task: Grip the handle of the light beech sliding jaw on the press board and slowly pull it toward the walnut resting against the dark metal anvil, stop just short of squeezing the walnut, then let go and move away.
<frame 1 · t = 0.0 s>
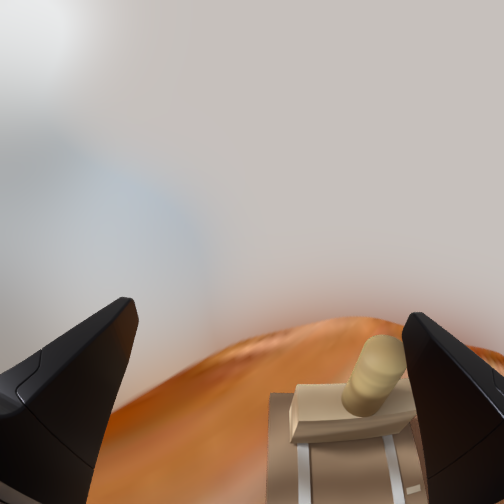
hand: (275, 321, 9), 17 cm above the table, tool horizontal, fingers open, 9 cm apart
jaw: (364, 395, 17), point 6 cm above the table, slide at 0.0 cm
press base: (346, 495, 14), on the table
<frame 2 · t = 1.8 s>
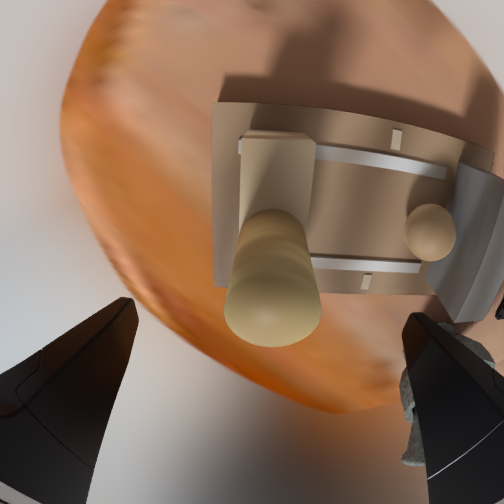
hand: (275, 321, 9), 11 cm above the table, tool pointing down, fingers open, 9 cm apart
jaw: (272, 245, 13), point 6 cm above the table, slide at 0.0 cm
mortar and pestle: (423, 346, 25), on the table
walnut: (418, 220, 17), point 1 cm above the table, touching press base
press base: (361, 206, 18), on the table
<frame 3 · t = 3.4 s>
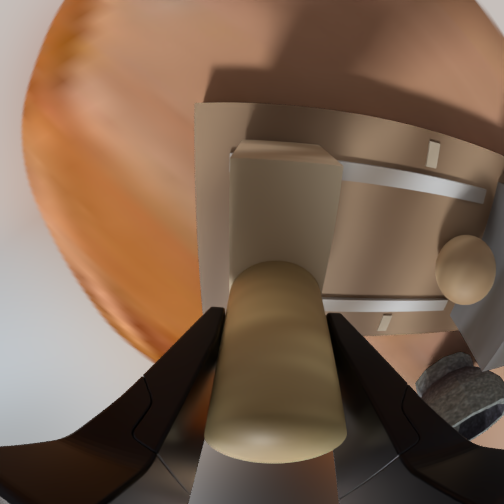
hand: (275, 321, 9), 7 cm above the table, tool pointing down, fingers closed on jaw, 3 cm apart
jaw: (275, 309, 9), point 6 cm above the table, slide at 0.0 cm, touching gripper
mortar and pestle: (436, 376, 21), on the table
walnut: (450, 252, 13), point 1 cm above the table, touching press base
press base: (383, 234, 14), on the table
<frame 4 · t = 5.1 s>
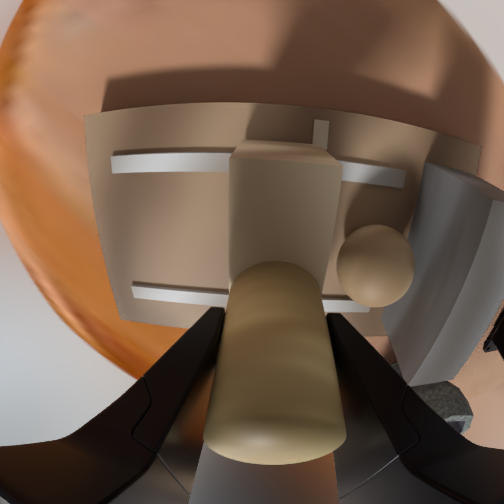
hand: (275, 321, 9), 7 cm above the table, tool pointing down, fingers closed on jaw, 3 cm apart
jaw: (274, 310, 9), point 6 cm above the table, slide at 5.4 cm, touching gripper
mortar and pestle: (390, 383, 21), on the table
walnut: (365, 246, 13), point 1 cm above the table, touching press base
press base: (284, 227, 14), on the table
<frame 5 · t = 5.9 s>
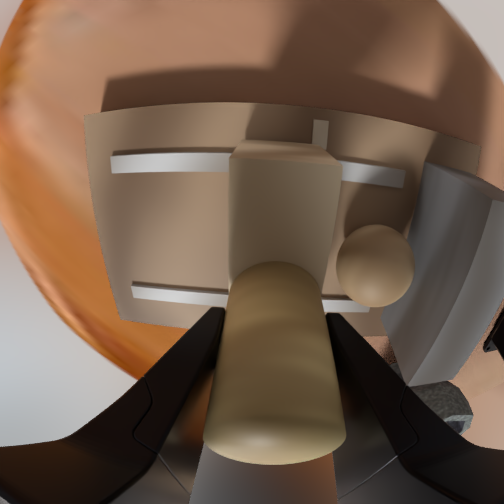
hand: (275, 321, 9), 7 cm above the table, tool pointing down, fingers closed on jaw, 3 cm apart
jaw: (274, 310, 9), point 6 cm above the table, slide at 5.4 cm, touching gripper
mortar and pestle: (390, 383, 21), on the table
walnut: (364, 246, 13), point 1 cm above the table, touching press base
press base: (284, 227, 14), on the table
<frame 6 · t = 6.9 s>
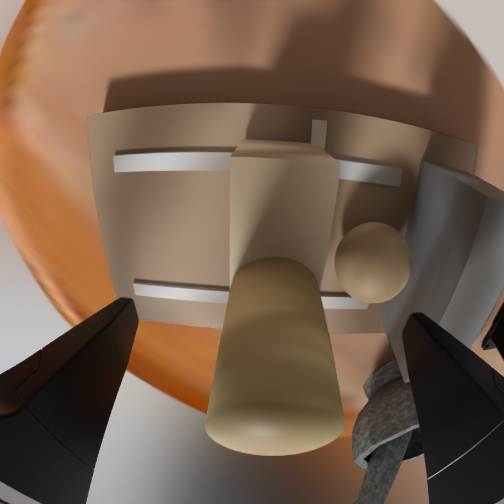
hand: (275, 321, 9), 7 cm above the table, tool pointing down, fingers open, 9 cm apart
jaw: (274, 305, 9), point 6 cm above the table, slide at 5.4 cm
mortar and pestle: (389, 381, 21), on the table
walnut: (362, 243, 13), point 1 cm above the table, touching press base
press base: (283, 225, 15), on the table
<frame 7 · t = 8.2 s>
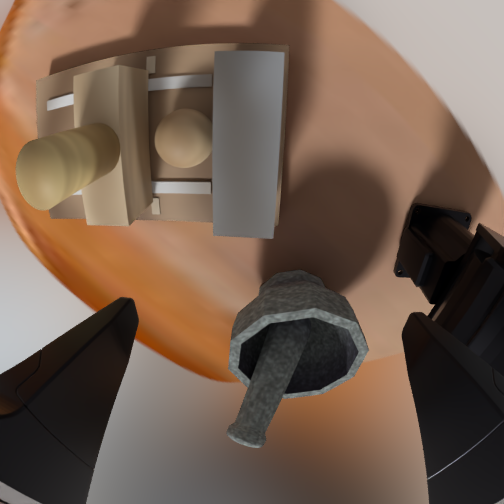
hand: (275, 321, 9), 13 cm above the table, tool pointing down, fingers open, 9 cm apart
jaw: (92, 151, 13), point 6 cm above the table, slide at 5.4 cm
mortar and pestle: (287, 303, 25), on the table
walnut: (192, 134, 17), point 1 cm above the table, touching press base
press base: (146, 134, 18), on the table
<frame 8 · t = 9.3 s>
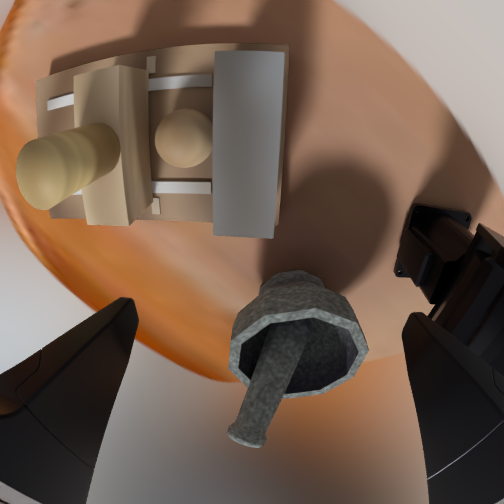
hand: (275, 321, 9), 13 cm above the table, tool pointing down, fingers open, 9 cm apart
jaw: (92, 151, 13), point 6 cm above the table, slide at 5.4 cm
mortar and pestle: (287, 303, 25), on the table
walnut: (192, 134, 17), point 1 cm above the table, touching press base
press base: (146, 134, 18), on the table
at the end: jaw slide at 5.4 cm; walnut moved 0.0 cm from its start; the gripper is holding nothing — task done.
